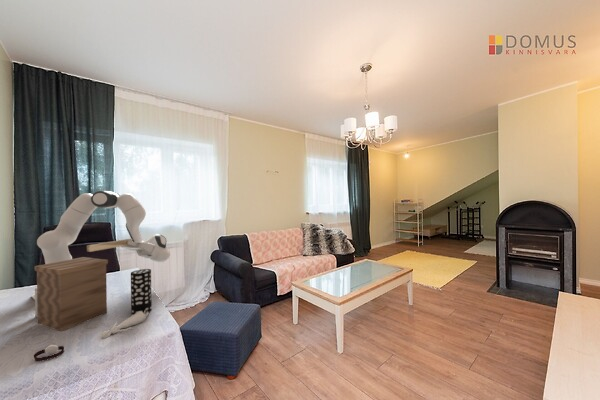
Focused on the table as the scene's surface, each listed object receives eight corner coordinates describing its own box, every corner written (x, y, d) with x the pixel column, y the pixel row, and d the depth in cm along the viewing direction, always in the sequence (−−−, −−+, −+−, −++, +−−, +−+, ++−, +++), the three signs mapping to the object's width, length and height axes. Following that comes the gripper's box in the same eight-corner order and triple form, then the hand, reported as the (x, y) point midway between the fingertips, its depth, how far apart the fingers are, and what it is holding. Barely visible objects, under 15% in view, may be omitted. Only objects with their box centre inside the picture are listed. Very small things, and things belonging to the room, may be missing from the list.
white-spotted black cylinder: (155, 309, 116) (154, 269, 116) (137, 317, 109) (137, 274, 109) (145, 306, 120) (144, 268, 120) (127, 314, 112) (126, 272, 112)
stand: (35, 323, 104) (34, 266, 104) (84, 306, 121) (83, 256, 121) (60, 332, 97) (59, 270, 97) (108, 312, 114) (107, 259, 114)
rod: (86, 251, 116) (86, 245, 116) (129, 244, 134) (128, 238, 134) (90, 251, 114) (90, 245, 114) (132, 244, 133) (132, 239, 133)
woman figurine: (154, 310, 106) (108, 334, 89) (155, 320, 106) (109, 345, 90) (138, 306, 111) (92, 328, 94) (139, 315, 111) (93, 338, 95)
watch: (67, 350, 85) (67, 340, 85) (60, 358, 81) (60, 347, 81) (38, 356, 82) (38, 346, 82) (29, 364, 78) (29, 354, 78)
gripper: (136, 243, 147) (115, 235, 136) (159, 245, 140) (139, 237, 128) (131, 253, 144) (109, 246, 133) (155, 255, 137) (133, 248, 126)
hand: (124, 241), depth 131 cm, fingers closed on rod, 3 cm apart
